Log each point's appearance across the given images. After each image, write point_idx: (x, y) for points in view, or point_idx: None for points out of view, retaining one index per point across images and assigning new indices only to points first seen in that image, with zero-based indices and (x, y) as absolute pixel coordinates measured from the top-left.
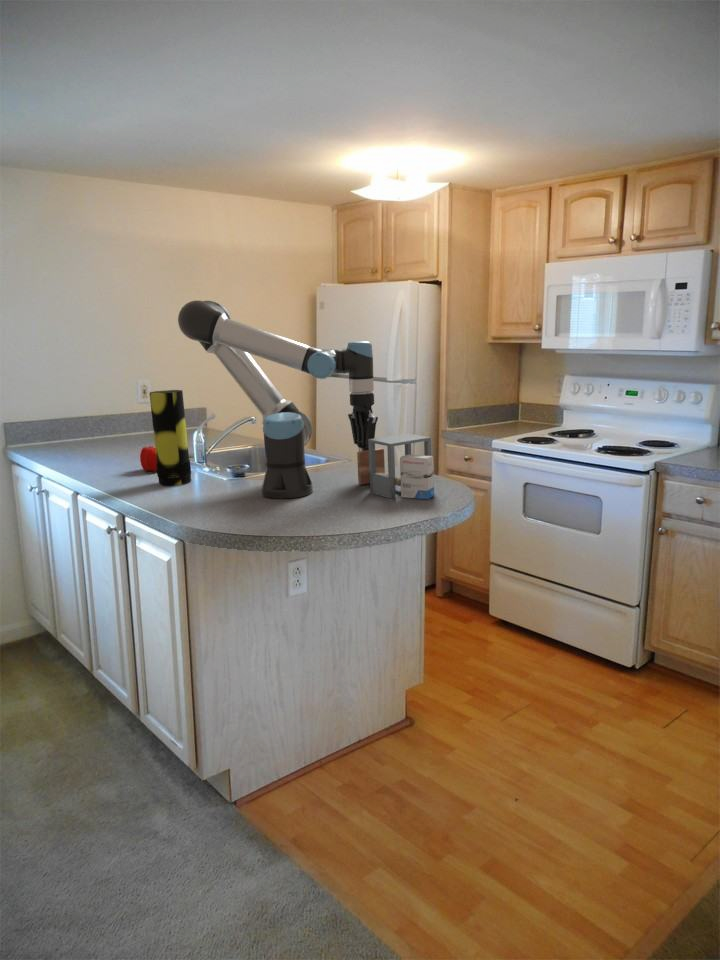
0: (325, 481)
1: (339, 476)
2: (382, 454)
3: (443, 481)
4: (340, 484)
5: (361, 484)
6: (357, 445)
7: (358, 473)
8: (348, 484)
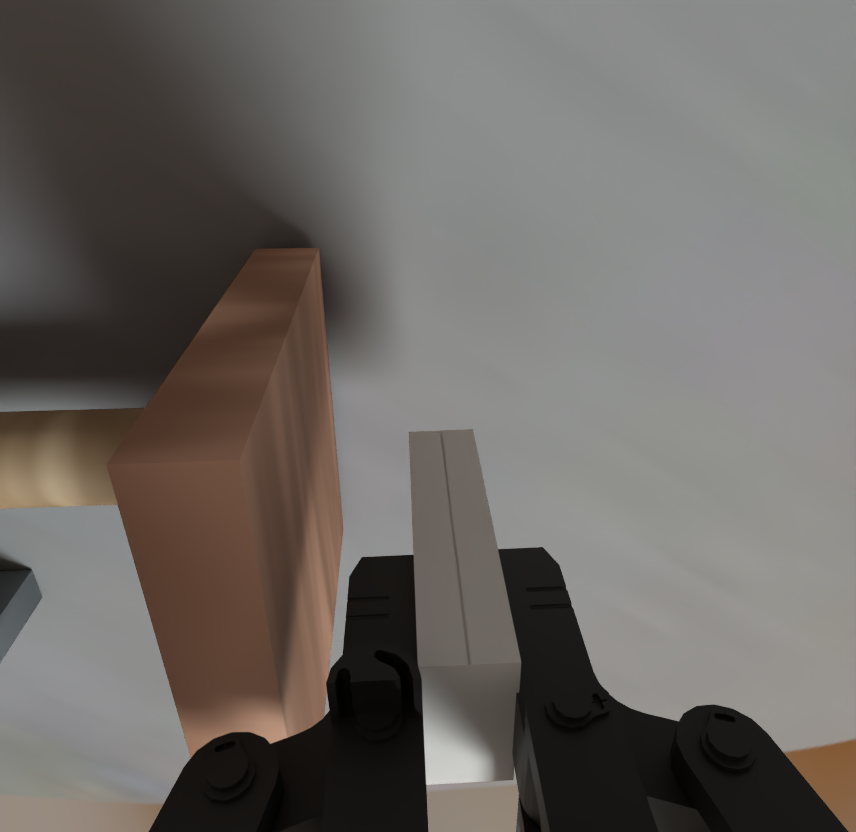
0: (806, 15)
1: (843, 312)
2: None
3: (7, 784)
4: (501, 80)
5: (254, 251)
6: (600, 695)
7: (292, 289)
8: (426, 164)
